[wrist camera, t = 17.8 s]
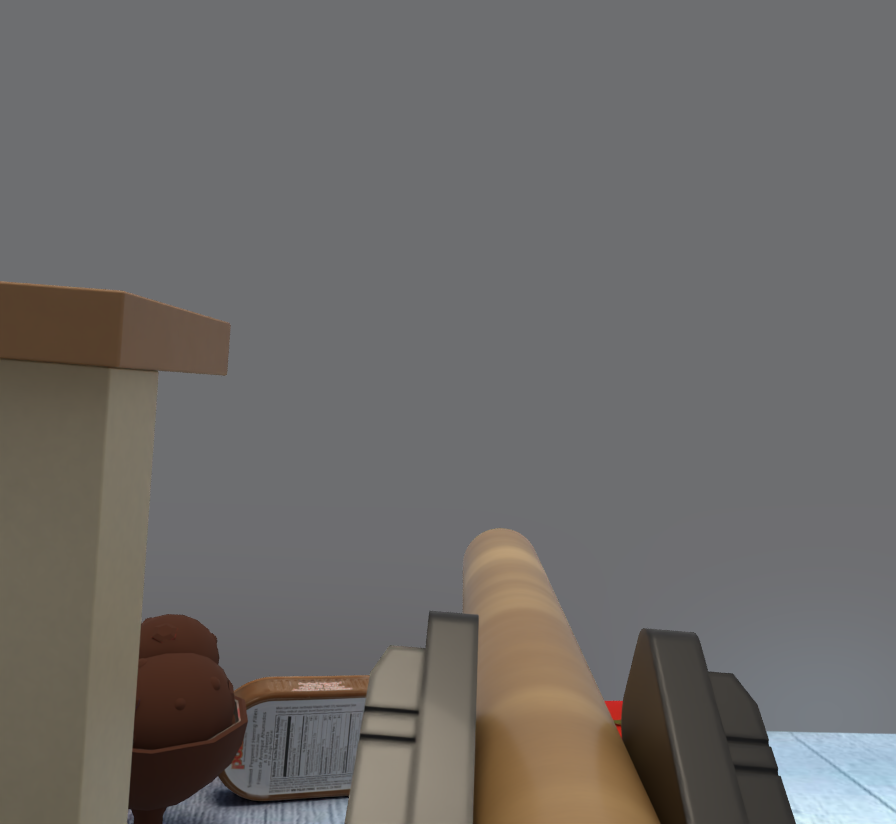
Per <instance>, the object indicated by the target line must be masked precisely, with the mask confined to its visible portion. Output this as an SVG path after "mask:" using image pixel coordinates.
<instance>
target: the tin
mask: <svg viewBox="0 0 896 824" xmlns="http://www.w3.org/2000/svg"><path fill="white" fill-rule="evenodd" d="M369 677H370V675H357V676H354V675H353V676H304V677H303V676H298V677H297V676H295V677H265V678H260V679H256V680H254V681H251V682H248V683H246V684H244V685H243V686H241V687H240V688H238V689H236V690H235V691H234V695H235V696H237V697H240V698H242V699H244V700H245V704H246V711H247V717H248V724H247V727H246V731H245V735H244V738H243V742H242V745H241V747H240V749H239V751H238V752H237V754H236V756H235V758H234V760H233V761H232V763H231V764H230V765H229V766H228V767H227V768H226V769H225V770H224V771H223V772H222V773H221V774H219V775H218V777H219V778H220V780H221V781H222V782H223V784H224V785H225V786H226V787H227V788H228V789H230V790H231V791H232V792H233V793H235V794H237V795H238V796H241V797H243V798H246V799H249V800H254V801H275V800H289V799H304V798H318V797H333V796H349V795H350V789H351V783H352V777H353V771H354V765H355V759H356V753H357V747H358V742H359V738H360V730H361V724H362V718H363V713H364V707H365V700H366V695H367V689H368V683H369Z"/></svg>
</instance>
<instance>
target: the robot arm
mask: <svg viewBox="0 0 896 824" xmlns="http://www.w3.org/2000/svg"><path fill="white" fill-rule="evenodd" d="M478 631H479V615H476V614H463V613H451V612H437V611H430V612H429V619H428V629H427V639H426V648H416V647H404V646H392V645H390V646H389V647H388V648H387V650H386V651H385V653H384V654H383V656H382V657H381V658H380V660H379V661H378V663H377V664H376V665H375V667H374V668H373V670H372V671H371V672H370V677H369V683H368V689H367V695H366V700H365V707H364V713H363V718H362V724H361V730H360V738H359V742H358V747H357V753H356V759H355V765H354V771H353V777H352V783H351V789H350V795H349V800H348V806H347V812H346V818H345V824H473V801H474V767H475V733H476V699H477V665H478ZM621 735H622V740H623V743H624V745H625V747H626V749H627V751H628V754H629V756H630V758H631V760H632V762H633V764H634V767H635V769H636V771H637V773H638V775H639V777H640V780H641V782H642V784H643V786H644V788H645V790H646V793H647V795H648V797H649V799H650V801H651V804H652V806H653V808H654V810H655V812H656V814H657V817H658V819H659V821H660V823H661V824H796V822H795V819H794V816H793V813H792V810H791V807H790V804H789V801H788V798H787V795H786V791H785V788H784V785H783V782H782V779H781V776H778V767H777V764H776V761H775V757H774V754H773V751H772V748H771V747H769V744H768V741H769V739H768V736H767V733H766V730H765V726H764V723H763V720H762V717H761V714H760V711H759V708H758V705H757V704H756V702H755V701H754V700H753V699H752V697H751V696H750V695H749V693H748V692H747V691H746V690H745V689H744V687H743V686H742V685H741V683H740V682H739V681H738V679H737V678H736V677H735V676H734V674H731V673H719V672H708V669H707V666H706V662H705V658H704V655H703V651H702V647H701V644H700V641H699V638H698V636H697V635H696V633H694V632H682V631H670V630H657V629H645V628H643V629H642V630H641V631H640V634H639V637H638V641H637V645H636V649H635V653H634V657H633V661H632V665H631V669H630V674H629V677H628V681H627V685H626V690H625V694H624V698H623V704H622V715H621Z"/></svg>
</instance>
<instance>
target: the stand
mask: <svg viewBox="0 0 896 824" xmlns="http://www.w3.org/2000/svg"><path fill="white" fill-rule="evenodd" d="M229 339H230V323H228V322H224V321H221V320H217V319H214V318H211V317H208V316H204V315H201V314H198V313H194V312H191V311H188V310H184V309H181V308H178V307H174V306H171V305H168V304H164V303H161V302H158V301H155V300H151V299H148V298H144V297H141V296H138V295H134V294H131V293H128V292H125V291H119V290H106V289H93V288H79V287H67V286H54V285H41V284H28V283H14V282H1V281H0V824H127V817H128V803H129V788H130V774H131V760H132V745H133V731H134V717H135V703H136V688H137V674H138V660H139V645H140V631H141V617H142V603H143V588H144V574H145V560H146V545H147V530H148V517H149V501H150V487H151V473H152V459H153V445H154V431H155V416H156V402H157V387H158V371H170V372H183V373H196V374H210V375H223V376H225V375H227V367H228V353H229Z"/></svg>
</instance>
